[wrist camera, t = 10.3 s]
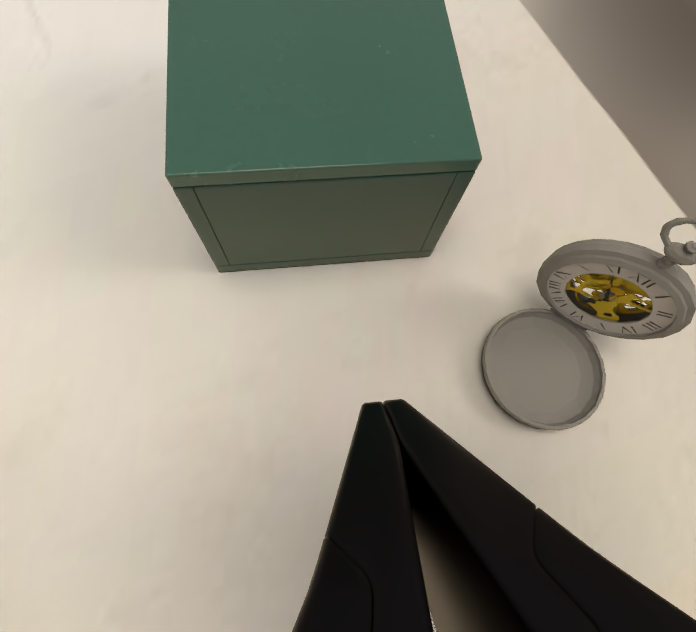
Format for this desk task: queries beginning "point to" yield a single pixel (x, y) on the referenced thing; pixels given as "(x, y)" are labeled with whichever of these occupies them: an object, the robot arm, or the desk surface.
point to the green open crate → (323, 219)
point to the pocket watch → (585, 325)
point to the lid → (313, 91)
